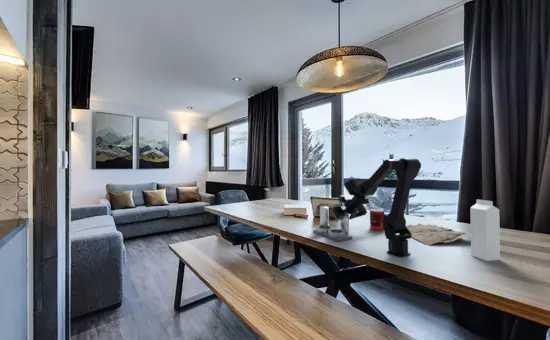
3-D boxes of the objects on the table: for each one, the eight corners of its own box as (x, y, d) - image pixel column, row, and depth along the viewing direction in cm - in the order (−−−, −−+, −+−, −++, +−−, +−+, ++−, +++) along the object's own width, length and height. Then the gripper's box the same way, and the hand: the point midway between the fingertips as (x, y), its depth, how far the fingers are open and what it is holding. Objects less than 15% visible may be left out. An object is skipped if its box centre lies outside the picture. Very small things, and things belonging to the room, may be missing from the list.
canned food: (381, 227, 137) (381, 208, 137) (387, 231, 129) (386, 211, 129) (368, 227, 138) (368, 208, 138) (372, 231, 130) (372, 211, 130)
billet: (351, 233, 127) (350, 209, 126) (344, 234, 124) (343, 210, 124) (344, 231, 131) (344, 207, 131) (338, 232, 129) (337, 208, 129)
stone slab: (485, 248, 101) (484, 236, 101) (417, 248, 105) (417, 236, 105) (442, 227, 134) (442, 219, 134) (392, 228, 138) (392, 219, 138)
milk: (483, 254, 93) (482, 198, 93) (500, 260, 87) (499, 200, 87) (470, 255, 92) (469, 199, 92) (486, 261, 86) (485, 201, 86)
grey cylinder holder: (352, 239, 117) (351, 210, 117) (338, 242, 113) (337, 212, 112) (326, 229, 135) (325, 205, 134) (313, 232, 130) (312, 206, 130)
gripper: (362, 189, 127) (349, 206, 137) (333, 191, 120) (322, 209, 130) (373, 205, 120) (359, 222, 130) (344, 209, 113) (330, 226, 123)
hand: (342, 219), depth 129 cm, fingers open, 9 cm apart
